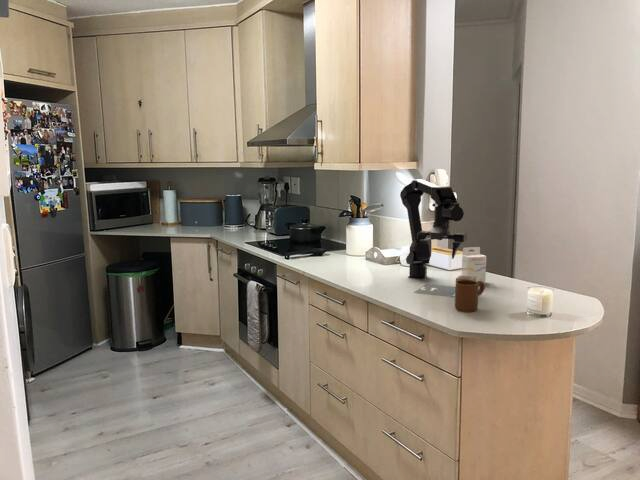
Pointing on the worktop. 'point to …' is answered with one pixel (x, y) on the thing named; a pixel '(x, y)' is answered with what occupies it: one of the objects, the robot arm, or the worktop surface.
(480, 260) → the ink box
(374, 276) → the worktop surface
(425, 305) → the worktop surface
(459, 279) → the walnut cube
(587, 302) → the worktop surface
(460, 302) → the mug
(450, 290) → the mat
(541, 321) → the worktop surface
